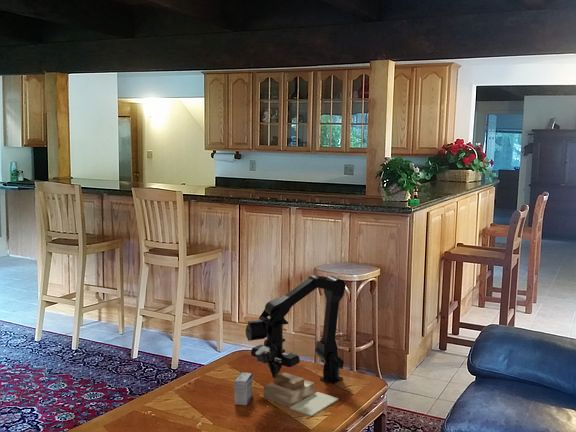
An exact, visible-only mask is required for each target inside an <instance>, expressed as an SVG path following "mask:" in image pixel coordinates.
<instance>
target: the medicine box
mask: <svg viewBox="0 0 576 432" xmlns="http://www.w3.org/2000/svg"><path fill="white" fill-rule="evenodd" d="M233 383H234V386H233V387H234V405H237V406H238V405H241V406H247V405H248V404H249V402H250V401H251V400H252V398H253V373H251V372H240V373H239V375H238V376H237V378H236V379H235V380H234V382H233Z"/></svg>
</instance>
